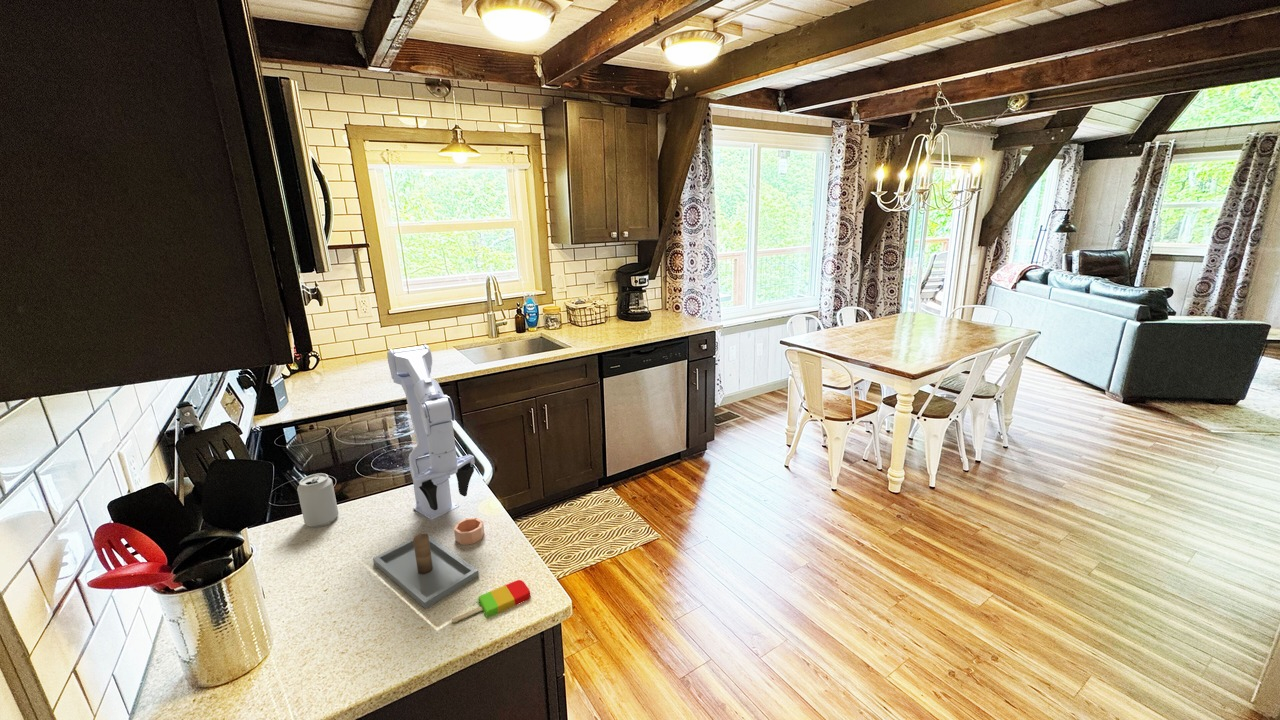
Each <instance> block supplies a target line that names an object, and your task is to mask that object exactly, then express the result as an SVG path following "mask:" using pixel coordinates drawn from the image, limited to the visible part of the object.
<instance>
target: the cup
mask: <svg viewBox="0 0 1280 720" xmlns="http://www.w3.org/2000/svg"><path fill="white" fill-rule="evenodd" d="M484 526H485V525H484V520H481V519H480V518H478V517H470V518H464V519H462V520H460V521H458V522H456V523H455V526H454V529H453V532H454V533H453V534H454V541H455V542H456V543H458V544H460V546H463V545H473V544H475V543H477V542H479V541H480V540H482V539H483V538H484V534H485V527H484Z"/></svg>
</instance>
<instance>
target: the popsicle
mask: <svg viewBox="0 0 1280 720" xmlns="http://www.w3.org/2000/svg"><path fill="white" fill-rule="evenodd" d="M530 598H531V591H530V589H529V588H528V586H527V584H526V583H525V582H524V581H523V580H522V579H517V580H514V581H512V582H509V583H507V584H505V585H502V586H500V587H498V588H495V589H493V590H490V591H488V592H486V593H484V594H482V595H481V594H480V595H479V596H478V598H477V599H478V604H479V605H480V606H478V607H477V608H473V609H472V610H469V611H467V612H465V613H463V614H460V615H458V616H456V617H453V618H452V619H451V622H452V623H453V624H454V623H457V622H459V621H462V620H464V619H466V618H469V617H471V616H473V615H475V614H478V613H481V612H482V611H483V613H484V616H485V617H486V618H487V619H489V618H491V617H493V616H495V615H497V614H500V613H502V612H504V611H507V610H508V609H512V608H513V607H515V606H517V604H518V605H519V603H520V604H522V603H524V602H526V601H528V600H529V599H530ZM523 601H524V602H523ZM521 602H522V603H521Z"/></svg>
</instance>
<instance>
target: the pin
mask: <svg viewBox="0 0 1280 720" xmlns="http://www.w3.org/2000/svg"><path fill="white" fill-rule="evenodd" d="M422 533H423V534H422ZM422 533H419V534H417V535H415V536H414V537H413V542H414V549H415V556H416V562H417V569H418V573H419V574H427V573H429V572H431V571H432V569H433V566H432V558H431V551H430V544H429V537H428V536H429V534H428V533H426V532H422ZM425 533H426V534H425Z"/></svg>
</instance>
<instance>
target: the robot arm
mask: <svg viewBox="0 0 1280 720" xmlns="http://www.w3.org/2000/svg"><path fill="white" fill-rule="evenodd" d="M386 357H387V364H388V367H389V372H390V376H391V379H392V381H393V383H395V384H398V385H401V387H402V390H403V391H404V394H405V398H406V403H407V407H408V411H409V414H410V419H411V424H412V428H413V431H414V437H415V439H416V446H415V447H414V448H413V449H412V450H411V451H410V452H409V455H408V463H409V472H410V475H411V479H412V483H413V492H414V496H415V497H414V498H415V506H413V510H414V511H416V512H417V513H420V514H421V515H423V516H425V517H426V518H428V519H429V520H435V519H437V518H439V517H441V516H442V515H445V514H447V513H449V512H451V511H453V510H455V509H457V508H459V507H460V505H459V504H457V503H455V502H453V501H452V494H451V489H450V487H451V486H450V479H451V476H452V475H454V474H455V476H456V480H457V487H458V492H459V495H461V496H463V497H466V496H467V495H468V489H469V486H470V485H469V484H470V482H471V478H472V476H473V474H474V472H475V468H474V466H473V465H474V464H475V463H476V462H475V456H474V455H472V454H467V455H463V456H460V457H457V451H456V442H455V441H456V440H455V432H454V423H453V422H454V421H456V420H455V419H456V411H455V407H454V403H453V400H452V398H451V397H450V396H448V394H444V391H443V389H442V387H441V386H440V383H439V382H438V381H437V379H435V378H432V377H431V373H432V367H433V355H432V351H431V349H430V346H428V344H423V345H415V346H410V347H409V346H408V347H401V348H394V349H391V348H390V349H388V351H387V355H386Z"/></svg>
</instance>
